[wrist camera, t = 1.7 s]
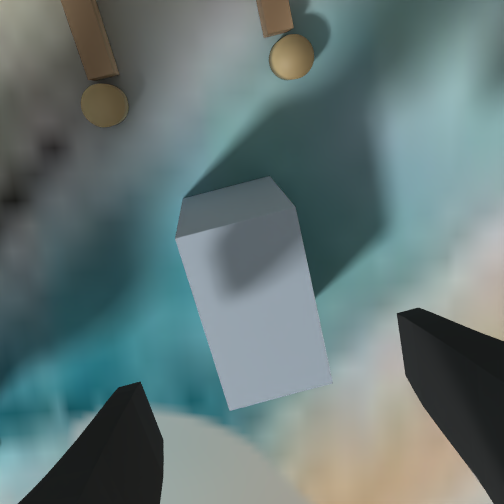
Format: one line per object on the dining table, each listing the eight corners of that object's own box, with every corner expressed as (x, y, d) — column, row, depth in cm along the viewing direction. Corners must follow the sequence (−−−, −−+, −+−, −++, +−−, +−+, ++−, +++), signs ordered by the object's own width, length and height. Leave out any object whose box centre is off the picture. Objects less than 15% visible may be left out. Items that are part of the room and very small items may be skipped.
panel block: (222, 331, 22) (229, 410, 17) (182, 198, 20) (175, 238, 14) (300, 310, 23) (332, 382, 17) (269, 175, 20) (295, 206, 14)
